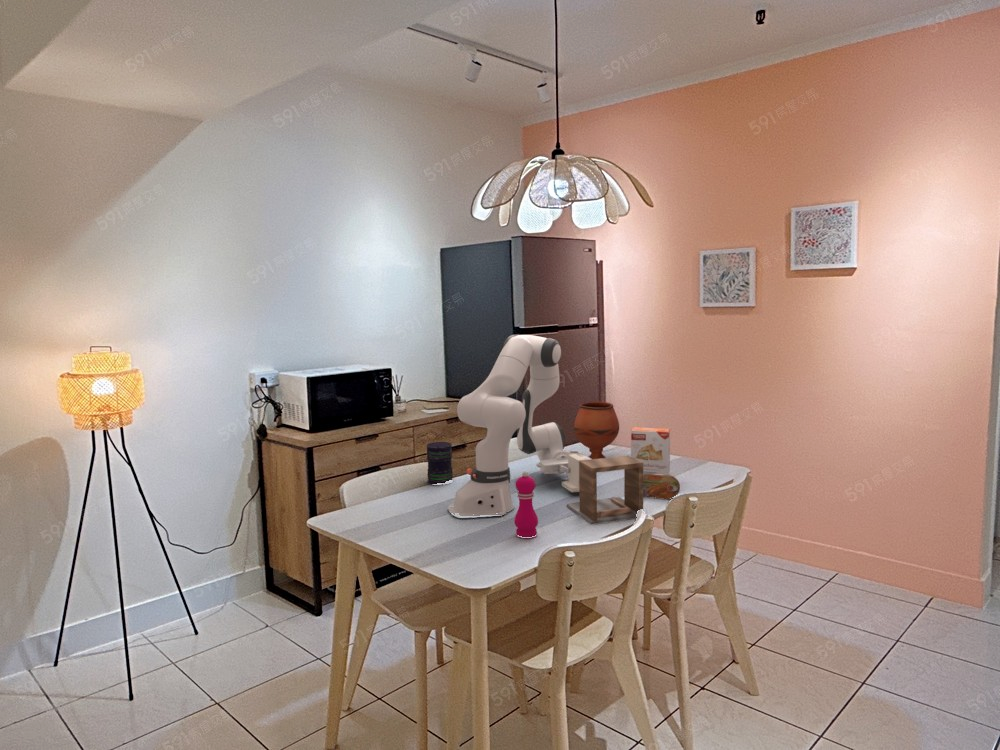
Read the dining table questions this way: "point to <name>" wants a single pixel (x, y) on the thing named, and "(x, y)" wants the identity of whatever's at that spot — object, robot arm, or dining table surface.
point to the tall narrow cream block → (573, 473)
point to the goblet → (596, 426)
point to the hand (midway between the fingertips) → (574, 470)
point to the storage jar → (439, 462)
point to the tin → (660, 486)
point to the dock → (609, 507)
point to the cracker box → (651, 449)
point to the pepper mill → (525, 507)
